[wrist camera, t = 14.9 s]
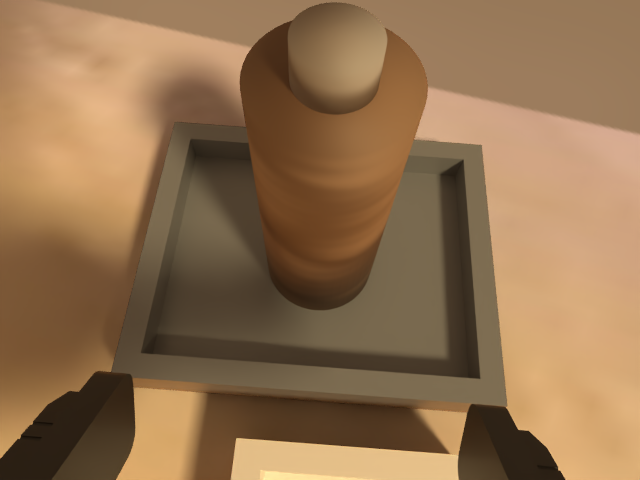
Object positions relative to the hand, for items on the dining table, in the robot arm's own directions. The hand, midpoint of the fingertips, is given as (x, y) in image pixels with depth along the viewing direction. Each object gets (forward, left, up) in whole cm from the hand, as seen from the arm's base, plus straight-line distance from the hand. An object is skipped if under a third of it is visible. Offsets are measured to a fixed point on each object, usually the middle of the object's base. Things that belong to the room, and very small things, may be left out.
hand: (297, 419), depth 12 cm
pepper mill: (0, -8, -9) cm, 13 cm away
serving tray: (0, -8, -10) cm, 13 cm away
